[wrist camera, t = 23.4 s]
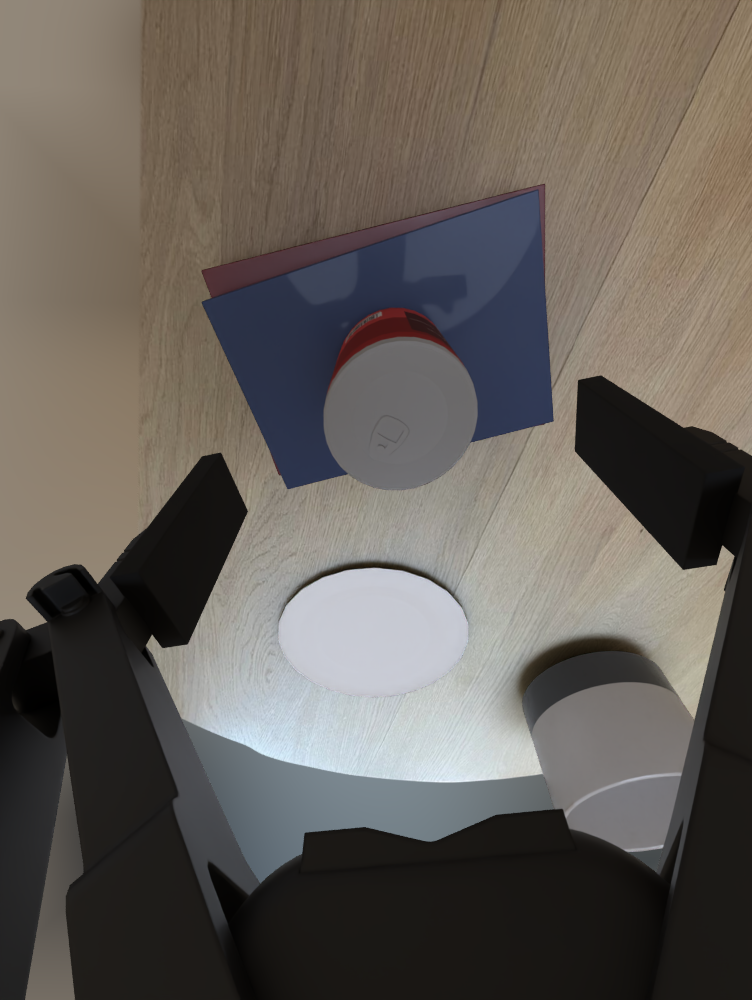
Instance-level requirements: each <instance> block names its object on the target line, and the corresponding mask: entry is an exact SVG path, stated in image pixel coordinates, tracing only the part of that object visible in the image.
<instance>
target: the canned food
mask: <svg viewBox="0 0 752 1000" xmlns="http://www.w3.org/2000/svg"><path fill="white" fill-rule="evenodd" d="M477 417H478V409H477V398H476V393H475V389H474V385H473V382H472V380H471V378H470V376H469V373H468V371H467V369H466V368H465V366H464V365H463V363H462V361H461V360H460V359H459V357H458V356H457V355H456V353H455V352H454V350H453V349H452V348H451V346H450V345H449V344H448V342H447V341H446V340H445V338H444V337H443V335H442V334H441V333H440V331H439V330H438V329H437V328H436V326H435V325H434V324H433V323H432V322H431V321H430V320H429V319H428V318H426V317H425V316H424V315H422V314H420V313H418V312H416V311H413V310H409V309H405V308H388V309H383V310H379V311H377V312H374V313H372V314H370V315H368V316H367V317H365V318H364V319H362V320H361V321H359V322H358V323H357V324H356V325H355V327H354V328H353V329H352V330H351V331H350V332H349V334H348V336H347V337H346V339H345V340H344V343H343V345H342V348H341V350H340V353H339V356H338V359H337V362H336V365H335V368H334V371H333V375H332V378H331V381H330V384H329V387H328V391H327V395H326V400H325V405H324V432H325V437H326V441H327V444H328V447H329V449H330V451H331V453H332V456H333V457H334V458H335V460H336V461H337V463H338V464H339V465H340V467H341V468H342V469H344V470H345V471H346V472H347V473H348V474H349V475H350V476H351V477H353V478H355V479H356V480H358V481H360V482H361V483H363V484H366V485H369V486H371V487H374V488H379V489H384V490H406V489H412V488H416V487H419V486H422V485H425V484H428V483H430V482H432V481H433V480H435V479H437V478H439V477H441V476H442V475H443V474H445V473H446V472H447V471H448V470H450V469H451V468H452V467H453V466H454V465H455V464H456V463H457V462H458V460H459V459H460V458H461V457H462V456H463V454H464V452H465V451H466V449H467V448H468V446H469V444H470V442H471V439H472V437H473V434H474V432H475V427H476V422H477Z"/></svg>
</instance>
